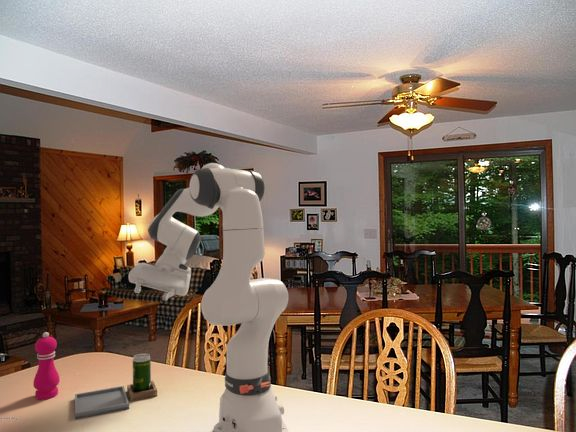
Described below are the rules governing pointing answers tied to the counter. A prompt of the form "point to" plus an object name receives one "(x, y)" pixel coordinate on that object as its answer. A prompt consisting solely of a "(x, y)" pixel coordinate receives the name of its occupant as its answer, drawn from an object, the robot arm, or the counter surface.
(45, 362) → the pepper mill
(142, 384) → the beer can
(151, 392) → the can holder
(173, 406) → the counter surface
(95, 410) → the tray
